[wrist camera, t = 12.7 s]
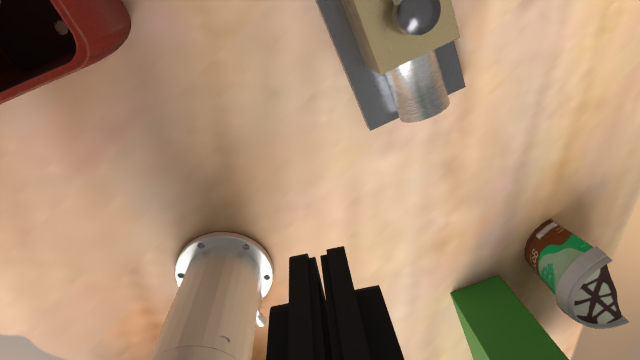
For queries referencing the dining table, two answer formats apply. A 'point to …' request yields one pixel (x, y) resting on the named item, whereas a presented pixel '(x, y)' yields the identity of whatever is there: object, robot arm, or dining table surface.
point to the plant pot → (55, 40)
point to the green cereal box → (501, 324)
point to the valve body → (394, 60)
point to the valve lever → (415, 15)
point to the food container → (575, 275)
